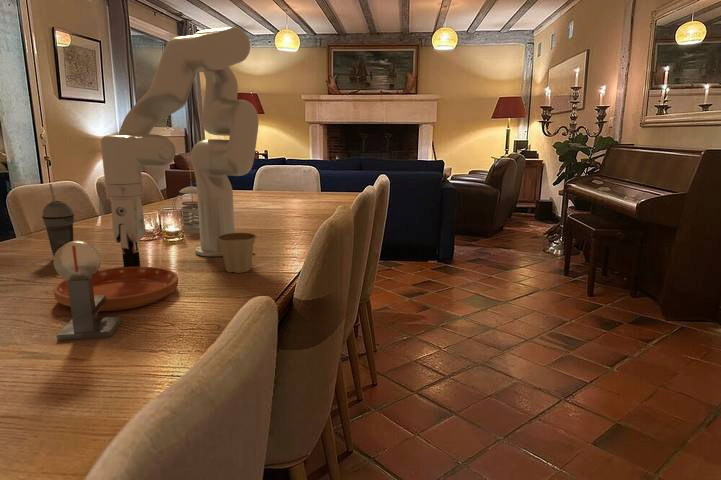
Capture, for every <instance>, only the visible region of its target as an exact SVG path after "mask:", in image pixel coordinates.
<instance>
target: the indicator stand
mask: <svg viewBox="0 0 721 480" xmlns="http://www.w3.org/2000/svg"><path fill="white" fill-rule="evenodd" d="M52 263H53V267H54V269H55V271H56V273H57V274H58V275H60V277H62V278H63V279H64V280H65V279H67V280H68V281H67V283H68V291H69V298H70V306H71V307H70V306H69V307H70V310H71V311H70V312H71V313H70V314H71V319H70V320H69V322H68V323H66V325H65V326H64V327H63V328H62V329H61V330H60V331H59V332H57V334H56V340H57V342H59V341H58V340H63V341H74V340H86V339H87V340H88V339H100V338H111V337H112V336H113V335H114V333H115V332H116V330H117V329H118V328H119V326H120V324H121V322H122V316H120V315H119V316H118V315H117V316H105V317H97V315H96V312H97V311H98V309H99V308H100V307H101V306H102V305H103V304H104V302H105V301H106V295H96V296H94V291H93V283H92V277H91V276H93V275H94V274H95V273H96V272H97V271H98V270H100V266H101V263H102V261H101V255H100V253H99V251H98V249H97V248H96V247H95V246H94V245H92V244H90V243H89V242H87V241H83V240H74V241H72V242H69V243H67V244H65V245H63V246H62V247H60V248H59V249H58V250H57V251H56V253H55V255H54V257H53V261H52Z"/></svg>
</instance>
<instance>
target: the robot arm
mask: <svg viewBox="0 0 721 480" xmlns="http://www.w3.org/2000/svg"><path fill="white" fill-rule="evenodd" d="M250 52H251V43H250V38H249V36H248V35H247V32H245V31H244V30H243V29H241V28H239V27H236V26H229V27H228V26H227V27H219V28H210V29H204V30H199V31H197V32H195V33H193V34H192V35H184V36H183V35H181V36H176V37H172V38H171V39H170V40H169V41H168V42H167V43H166V45H165V46H164V49H163V51H162V55H161V57H160V60H159V63H158V64H157V65H158V66H157V69H156V71H155V75H154V77H153V80H152V82H151V85H150V88H149V89H148V90H147V91H146V93H144V95H142V97H140V98H139V100H138V101H137V102H136V104H134V106H132V107H131V109H130V110H129V111H128V113H126V116H124V117H125V118H124V119H123V122H122V123H121V126H120V129H119V131H118V134H109V135H104V136H102V138H101V140H100V149H101V156H102V165H103V175H104V185H105V187H104V188H105V195H106V200H110V201H111V202H110V205H111V208H110V209H111V221H112V222H111V223H112V225H111V226H112V232H113V240H114V241H115V242H116V243H118V244H119V243H120V249H121V253H122V260H123V261H122V262H123V263H122V264H123V267H141V259H140V251H139V250H140V249H139V242H140V241H141V240H142V239H143V238H144V237H145V236H146V231H147V230H146V223H145V217H144V208H143V203H142V198H144V188H143V187H144V186H143V176H142V167H147V168H149V167H151V168H160V167H161V168H162V167H166V166H168V165H169V164H171V163H172V162H173V161H174V160H175V157H176V154H177V153H176V152H177V151H176V147H175V145H174V142H173V141H171V139H169V137H166V136H164V135H162V134H151V132H152V130H153V129H154V128H155V126H156V125H157V124H158V123H159V122H161V121H162V120H164V119H165V118H167V117H169V116H170V115H172V114H175V113H176V112H177V111H180V110H181V109H182V108H184V107H185V105H186V104H187V101H188V99H189V95H190V93H191V90H192V87H193V84H194V81H195V77H196V75H197V74H198V73H203V75H204V78H205V79H204V80H205V90H204V91H205V92H204V99H203V106H202V113H201V114H202V115H201V124H202V128H203V129H204V131H205V132H206V133H208V134H210V135H213V136H226V137H229V139H221V138H219V139H217V138H214V139H213V138H211V139H210V138H209V139H203V140H199V141H197V142H196V144H194V145H193V147H192V148H191V152H190V153H191V154H190V158H191V162H190V163H191V165H192V169H193V172H194V173H193V174H194V178H195V182H196V183H195V184H196V187H197V201H198V211H199V220H198V221H199V226H200V232H199V238H200V239H199V240H200V245H199V246H197V247H196V248H195V249H194V250H195V251H194V252H195V254H196V255H198V256H201V257H209V258H210V257H213V258H214V257H215V258H216V257H223V253H222V248H221V245H220V243H219V240H218V239H217V237H218V236H220V235H223V234H228V233H236V232H235V214H234V213H235V211H234V194H233V193H234V191H233V188H232V187H233V186H232V184H231V182H230V180H229V176H230V177H231V176H233V177H240V176H242V177H243V176H245V175H247V174H248V173H249V172H250V171H251V169H252V168H253V165H254V161H255V157H256V156H255V154H256V147H257V139H258V132H259V115H258V111H257V109H256V107H255V106H254V104H252V103H251V102H250V101H248V100H245V99H238V91H239V90H238V89H239V88H238V87H239V85H238V84H239V83H238V80H237V77H236V75H235V73H234V72H233V71H232V69H231V67H232V66H234V65H237V64H241V63H243V62H244V61H245V60H246V59H247V58H248V57H249V55H250Z"/></svg>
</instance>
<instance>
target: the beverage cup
mask: <svg viewBox="0 0 721 480" xmlns="http://www.w3.org/2000/svg"><path fill="white" fill-rule="evenodd" d="M48 185H49V189H50V193H51V197H52V201H50V202H48V203H46V204H45V206H44V208H43V210H42V216H41V217H42V219H43V220H42V221H43V223H44V226H45V228H46V232H47V237H48V241H49V246H50V249H51V254H52V256H53V258H54V255H55V253H56V251H57V250H58V249H59V248H60V247H62V246H63V245H65V244H67V243H69V242H72V241H75V240H74V223H75V214H74V211H73V209H72V207H71V206H70V205H69V204H68V203H67V202H65V201H62V200H56V197H55V193H54V189H53V185H52V183H49V184H48Z"/></svg>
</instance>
